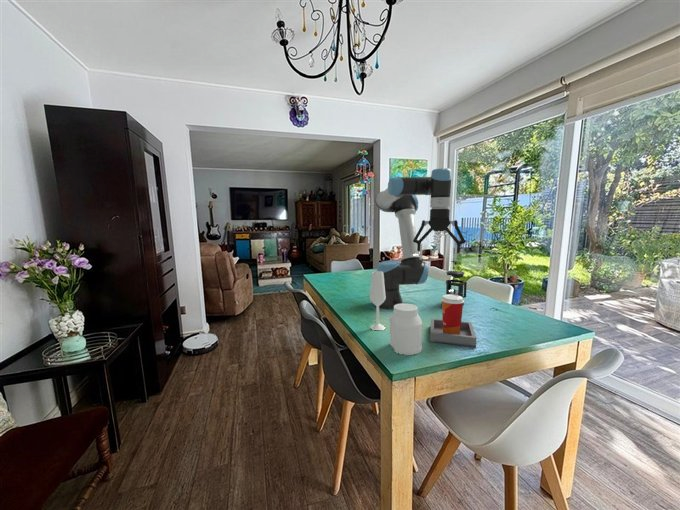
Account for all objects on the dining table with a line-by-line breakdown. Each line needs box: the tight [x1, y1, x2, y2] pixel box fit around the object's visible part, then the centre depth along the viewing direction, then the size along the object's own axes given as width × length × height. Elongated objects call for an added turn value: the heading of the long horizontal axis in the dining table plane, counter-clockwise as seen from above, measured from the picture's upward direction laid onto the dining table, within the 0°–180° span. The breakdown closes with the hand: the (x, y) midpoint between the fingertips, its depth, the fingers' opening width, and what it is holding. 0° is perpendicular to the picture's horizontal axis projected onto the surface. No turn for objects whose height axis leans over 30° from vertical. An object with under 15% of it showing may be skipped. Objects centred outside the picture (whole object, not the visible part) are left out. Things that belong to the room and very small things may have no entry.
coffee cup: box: [440, 294, 465, 335], centre depth 106 cm, size 8×8×15 cm
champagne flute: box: [369, 270, 386, 331], centre depth 115 cm, size 7×7×24 cm
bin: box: [429, 318, 477, 348], centre depth 106 cm, size 15×15×4 cm
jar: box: [389, 302, 423, 356], centre depth 97 cm, size 12×10×15 cm
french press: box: [445, 260, 467, 306], centre depth 145 cm, size 12×9×23 cm
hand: (437, 259), depth 115 cm, fingers open, 13 cm apart
